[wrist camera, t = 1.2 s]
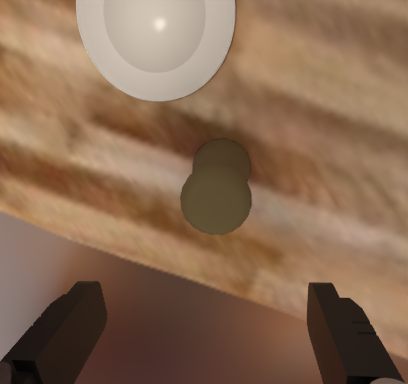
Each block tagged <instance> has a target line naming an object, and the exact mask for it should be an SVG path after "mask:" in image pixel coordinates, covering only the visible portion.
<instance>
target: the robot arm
mask: <svg viewBox="0 0 408 384" xmlns="http://www.w3.org/2000/svg"><path fill="white" fill-rule="evenodd" d="M106 322H107V310H106V306H105V302H104V298H103V294H102V289H101V285H100V283H99V282H98V281H78V282H77V283H76V284H75V285H74V286H73V287H72V288H71V289H70V291H69V292H68V293H67V294H64V295H62V296H61V297H59V298H58V299H57V300H55V301H54V302H52V303H51V304H50V305H49V306H48V307H47V308H46V310H45V311H44V312H43V313H42V314H41V317H39V318H38V319H37V320H36V321H35V322H34V324H33V326H31V327H30V328H29V329H28V330H27V331H26V332H25V334H24V335H23V336H22V337H21V338H20V339H19V340H18V342H17V343H16V344H15V345H14V346H13V347H12V348H11V350H10V351H9V352H8V353H7V354H6V355H5V356H4V358H3V359H2V360H1V361H0V384H74V383H75V381H76V379H77V377H78V375H79V374H80V372H81V370H82V368H83V367H84V365H85V363H86V361H87V359H88V357H89V356H90V354H91V352H92V350H93V348H94V347H95V345H96V343H97V341H98V340H99V338H100V336H101V334H102V332H103V331H104V328H105V326H106ZM307 326H308V332H309V336H310V340H311V343H312V347H313V350H314V354H315V357H316V360H317V364H318V367H319V370H320V374H321V377H322V381H323V384H406V383H405V382H404V380H403V379H402V377H401V375H400V373H399V372H398V370H397V368H396V366H395V365H394V363H393V361H392V360H391V358H390V356H389V354H388V353H387V351H386V349H385V347H384V346H383V344H382V342H381V340H380V339H379V337H378V336H377V335H376V332H375V330H374V328H373V326H372V325H371V324H370V321H369V319H368V318H367V316H366V314H365V313H364V311H363V309H362V308H361V307H360V306H359V305H357V304H356V303H355V302H354V301H353V300H352V299H350V298H340V297H339V295H338V293H337V291H336V289H335V287H334V285H333V284H332V283H309V286H308V303H307Z"/></svg>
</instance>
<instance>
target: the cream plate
mask: <svg viewBox="0 0 408 384" xmlns="http://www.w3.org/2000/svg"><path fill="white" fill-rule="evenodd" d="M76 14H77V21H78V27H79V31H80V35H81V38H82V41H83V44H84V47H85V49H86V51H87V53H88V55H89V57H90V59H91V60H92V62H93V63H94V65H95V66H96V68H97V69H98V70H99V72H100V73H101V74H102V75H103V76H104V77H105V78H106V79H107V80H108V81H109V82H110V83H111V84H113V85H114V86H115V87H116V88H118V89H119V90H121V91H123V92H125V93H126V94H128V95H131V96H133V97H135V98H139V99H143V100H148V101H169V100H176V99H179V98H182V97H185V96H187V95H190V94H192V93H194V92H195V91H197V90H198V89H200V88H201V87H203V86H204V85H205V84H206V83H207V82H208V81H209V80H210V79H211V78H212V77H213V76H214V75H215V74H216V72H217V71H218V69H219V68H220V67H221V65H222V63H223V61H224V59H225V58H226V56H227V53H228V51H229V48H230V45H231V42H232V38H233V34H234V26H235V0H76Z"/></svg>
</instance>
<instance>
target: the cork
mask: <svg viewBox="0 0 408 384" xmlns="http://www.w3.org/2000/svg"><path fill="white" fill-rule="evenodd" d="M250 172H251V162H250V159H249V156H248V153H247V152H246V151H245V150H244V148H243V147H242V146H241V145H239V144H238V143H236V142H235V141H232V140H228V139H214V140H212V141H209V142H207V143H205V144H204V145H203V146H202V147H201V148H199V150H198V152H197V153H196V155H195V157H194V162H193V171H192V174H191V175H190V176H189V177H188V179H187V181H186V182H185V184H184V185H183V187H182V192H181V196H180V199H181V208H182V211H183V214H184V216H185V218H186V220H187V221H188V222H189V223H190V224H191V225H192V226H193V227H194V228H196V229H198V230H199V231H201V232H204V233H207V234H211V235H223V234H226V233H229V232H232V231H234V230H235V229H237V228H238V227H240V226H241V225H242V223H243V222H244V221H245V219H246V218H247V217H248V215H249V212H250V209H251V206H252V198H251V191H250V188H249V185H248V183H247V181H248V178H249V175H250Z"/></svg>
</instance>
